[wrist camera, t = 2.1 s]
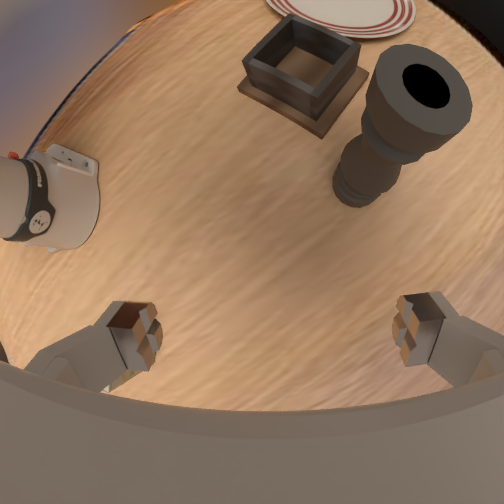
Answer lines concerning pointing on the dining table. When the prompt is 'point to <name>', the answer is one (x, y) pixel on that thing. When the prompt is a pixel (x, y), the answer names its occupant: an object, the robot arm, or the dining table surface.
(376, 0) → the dinner plate
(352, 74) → the dark square box
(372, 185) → the candle holder
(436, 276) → the dining table surface
